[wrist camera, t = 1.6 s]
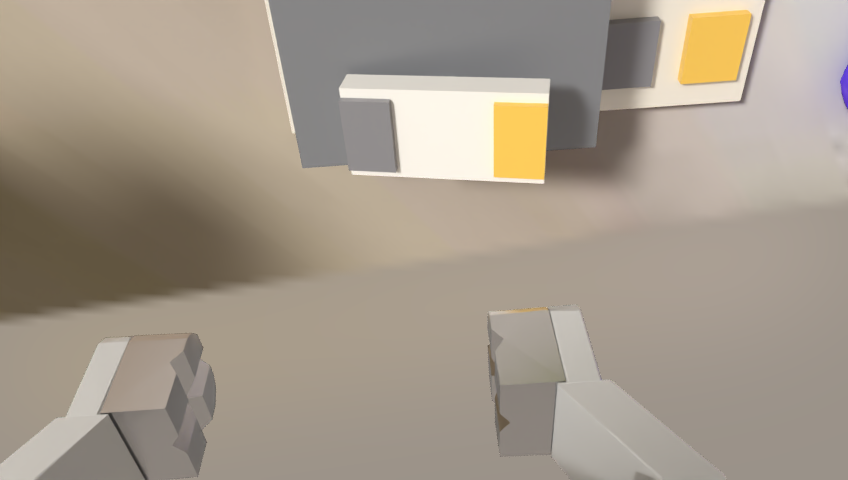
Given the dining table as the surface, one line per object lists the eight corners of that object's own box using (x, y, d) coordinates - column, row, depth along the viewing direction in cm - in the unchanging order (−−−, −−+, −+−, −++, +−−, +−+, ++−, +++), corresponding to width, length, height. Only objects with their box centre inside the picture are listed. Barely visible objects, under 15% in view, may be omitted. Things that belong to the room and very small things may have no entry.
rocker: (358, 158, 31) (350, 178, 29) (346, 74, 28) (336, 91, 27) (545, 167, 29) (543, 188, 28) (550, 78, 27) (548, 97, 25)
